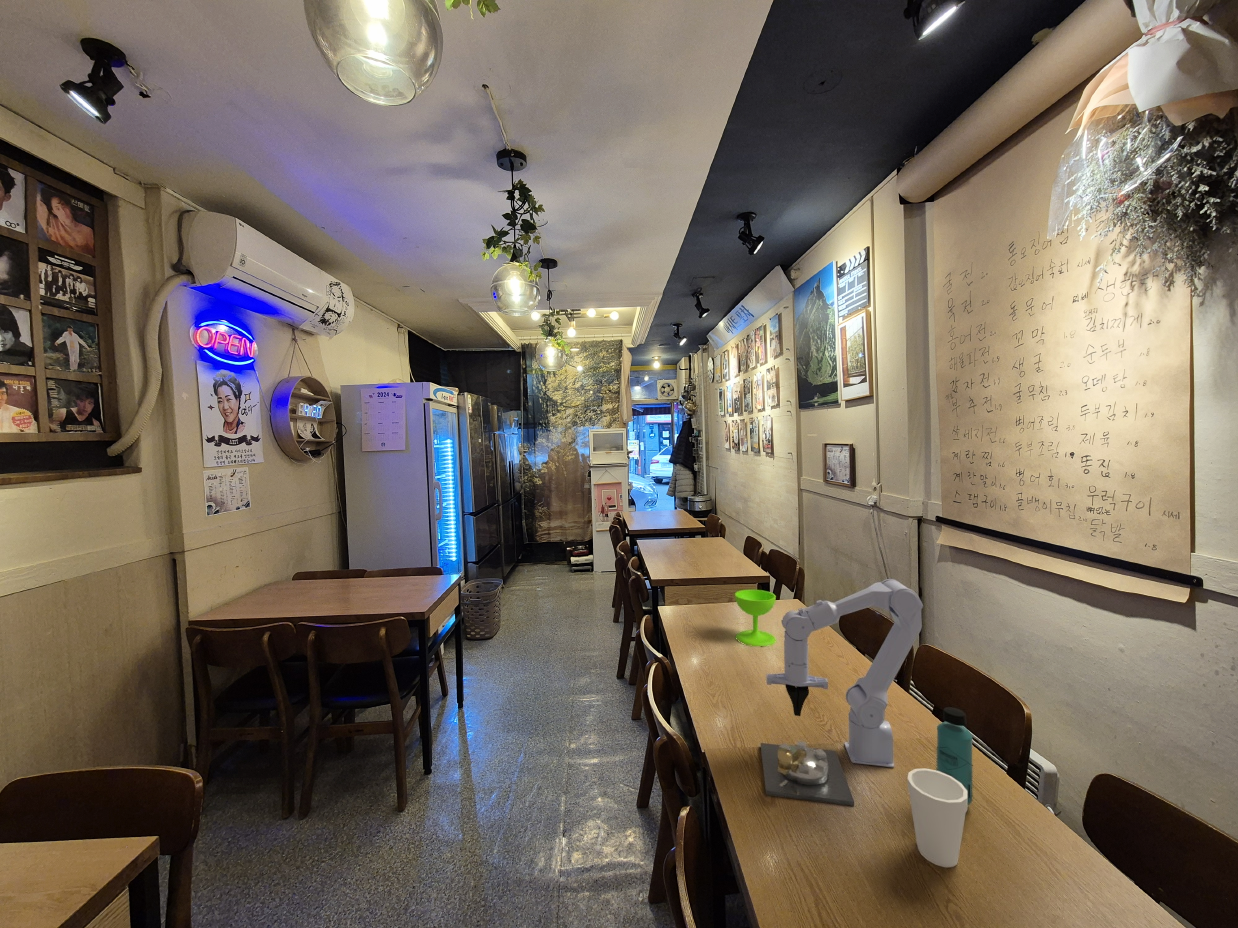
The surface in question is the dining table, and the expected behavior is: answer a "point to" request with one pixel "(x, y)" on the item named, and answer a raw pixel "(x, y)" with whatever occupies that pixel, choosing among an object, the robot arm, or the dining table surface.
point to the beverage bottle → (955, 748)
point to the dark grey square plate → (826, 792)
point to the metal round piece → (803, 763)
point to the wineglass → (755, 615)
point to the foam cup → (937, 814)
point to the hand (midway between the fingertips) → (797, 713)
